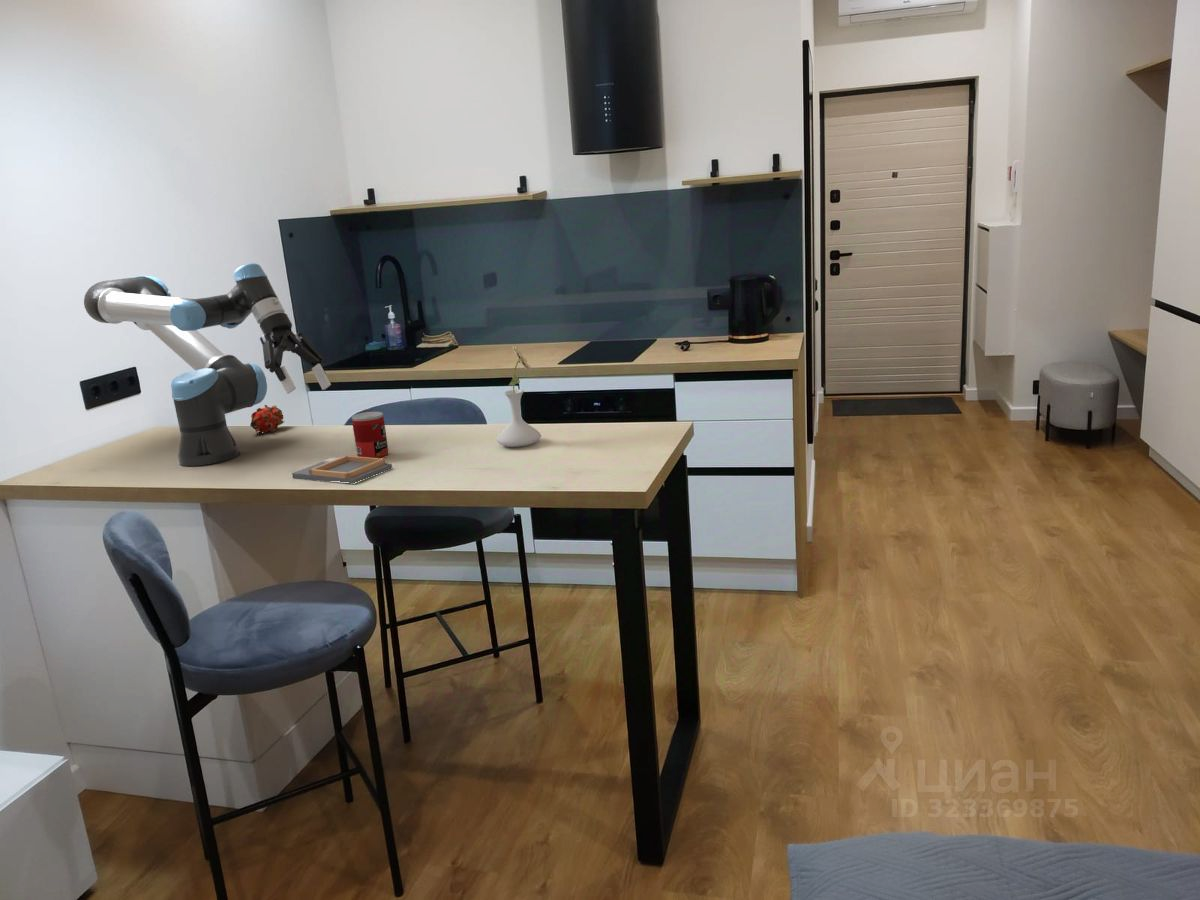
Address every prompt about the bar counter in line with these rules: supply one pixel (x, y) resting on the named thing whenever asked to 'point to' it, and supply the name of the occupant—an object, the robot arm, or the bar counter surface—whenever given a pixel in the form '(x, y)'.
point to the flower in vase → (517, 415)
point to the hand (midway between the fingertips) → (309, 389)
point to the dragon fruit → (266, 419)
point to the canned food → (370, 435)
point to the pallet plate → (344, 469)
